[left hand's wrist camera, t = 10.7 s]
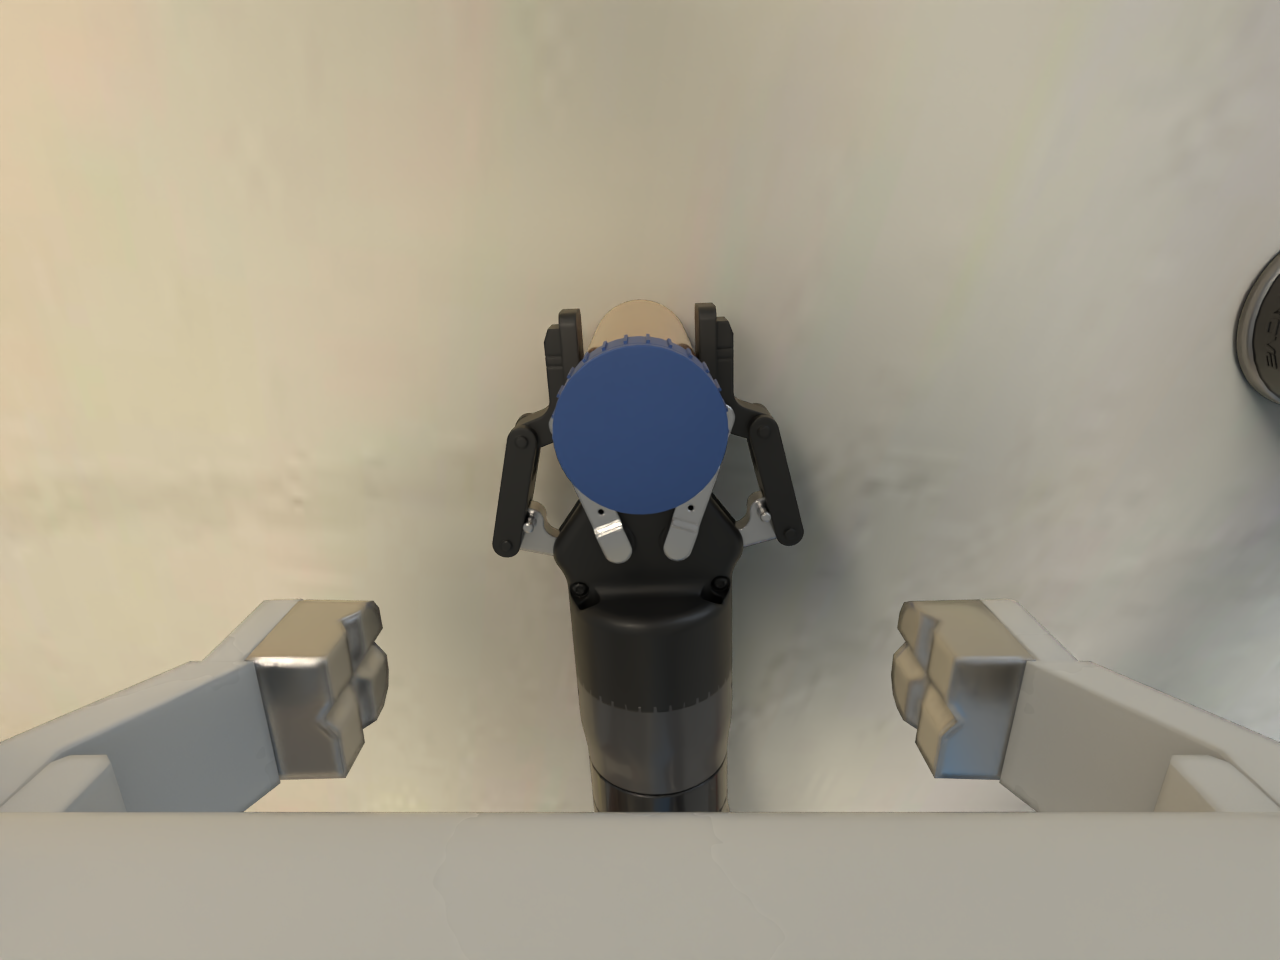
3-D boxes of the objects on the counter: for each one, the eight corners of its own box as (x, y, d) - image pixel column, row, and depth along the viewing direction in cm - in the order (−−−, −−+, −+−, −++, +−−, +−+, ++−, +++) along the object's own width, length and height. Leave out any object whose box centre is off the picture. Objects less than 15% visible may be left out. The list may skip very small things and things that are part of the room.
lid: (742, 471, 23) (750, 490, 21) (587, 514, 23) (582, 537, 22) (699, 311, 21) (704, 319, 19) (533, 362, 22) (523, 373, 20)
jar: (698, 379, 36) (737, 479, 21) (609, 405, 36) (589, 521, 22) (673, 287, 34) (696, 328, 20) (580, 315, 35) (538, 376, 20)
